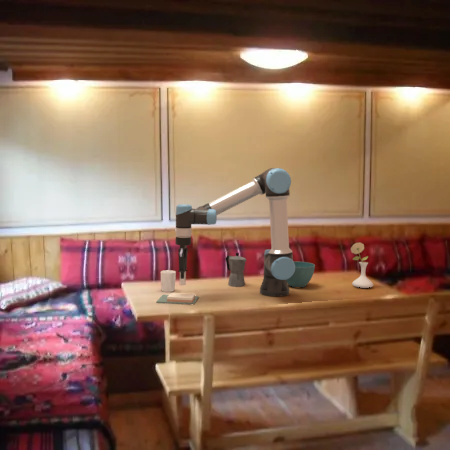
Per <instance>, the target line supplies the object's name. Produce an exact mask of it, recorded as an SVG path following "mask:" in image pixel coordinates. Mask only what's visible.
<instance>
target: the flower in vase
mask: <svg viewBox="0 0 450 450" xmlns="http://www.w3.org/2000/svg"><path fill="white" fill-rule="evenodd" d="M364 250H365V245H364V243H362V242H355V243H354V244H353V245H352V246H351V247H350V252H351V253H352V254H354V255H356V256H354V257H353V258H352V260H353V261H359V260H361V261H359V262H358V264H359V266H360V270H361V271H360V275H359V277H357V278H356V279H354V280H353V281H352V283H351V284H352V286H353V287H355V288H359V287H360V289H367V288H368V289H369V287H370V288H372V287H373V286H374V283H373V282H372V280H370V279H369V278H368V277H367V276H366V269H367V266H368V264H369V262H368V261H366V260H367V259H368V258H369V256H368V255H367V256H365V257H362V258H361V255H360V253H362V252H363V251H364ZM357 254H358V255H359V256H357Z"/></svg>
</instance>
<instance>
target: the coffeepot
mask: <svg viewBox="0 0 450 450" xmlns="http://www.w3.org/2000/svg"><path fill="white" fill-rule="evenodd" d="M239 254H240V253H239V252H236V253H235V256H232V255H226V257H225V263H226V267H227V270H228V271H230V272H229V273H230V274H229V277H228V284H227V285H228V286H229V287H231V288H232V287H233V288H241V287H245V286H246V282H245V276H244V271H245V266H246V262H247V258H245V257H243V256H240V255H239Z"/></svg>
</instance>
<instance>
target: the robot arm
mask: <svg viewBox="0 0 450 450" xmlns="http://www.w3.org/2000/svg"><path fill="white" fill-rule="evenodd" d="M291 185H292V178H291V175H290V174H289V172H287V171H286V170H285V169H283V168H280V167H276V168H275V167H271V168H269V169H267V170H264V171H263V172H262V173H260V174H258V175H256V176H255V177H253V179H252V180H251V181H249V182H247V183H245V184H244V185H241V186H240V187H237V188H235V189H233V190H231V191H229V192H227V193H225V194H224V195H221V196H219V197H218V198H215V199H214V200H211V201H209V202H208V203H205V204H204V205H201V206H197V207H196V208H193V206H192V205H191V204H186V203H185V204H182V203H181V204H177V205H176V208H175V229H174V232H175V245H176V246H179V248H178V253H177V255H178V271H177V272H178V273H179V285H180V286H186V284H187V283H186V282H187V281H186V280H187V272H188V265H187V264H188V252H189V249H188V248H187V246H190V245H191V244H192V237H191V236H192V225H207V226H209V225H210V226H211V225H216V224H217V218H218V217H217V216H218V215H220V214H222V213H224V212H226V211H228V210H230V209H232V208H234V207H236V206H238V205H240V204H242V203H245V202H246V201H248V200H250V199H252V198H254V197H256V196H258V195H260V196H263V195H264V194H265V198H266V199H268V203H269V207H268V208H269V223H270V224H269V226H270V243H271V249H270V248H269V249H265V250H264V254H263V257H264V258H263V259H264V261H263V279H262V283H261V285H260V287H259V294H261V295H264V296H269V297H285V296H289V294H290V286H289V284H288V283H287V280H286V279H288V278H290V277H291V276H292V275H293V274H294V272H295V263H294V262H295V261H294V259H293V258H294V257H293V254H294V253H293V250H292V249H291V248H290V242H289V241H290V240H289V237H290V236H289V222H288V221H289V218H288V202H287V201H288V198H289V197H290V193H291V192H290V187H291Z"/></svg>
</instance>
